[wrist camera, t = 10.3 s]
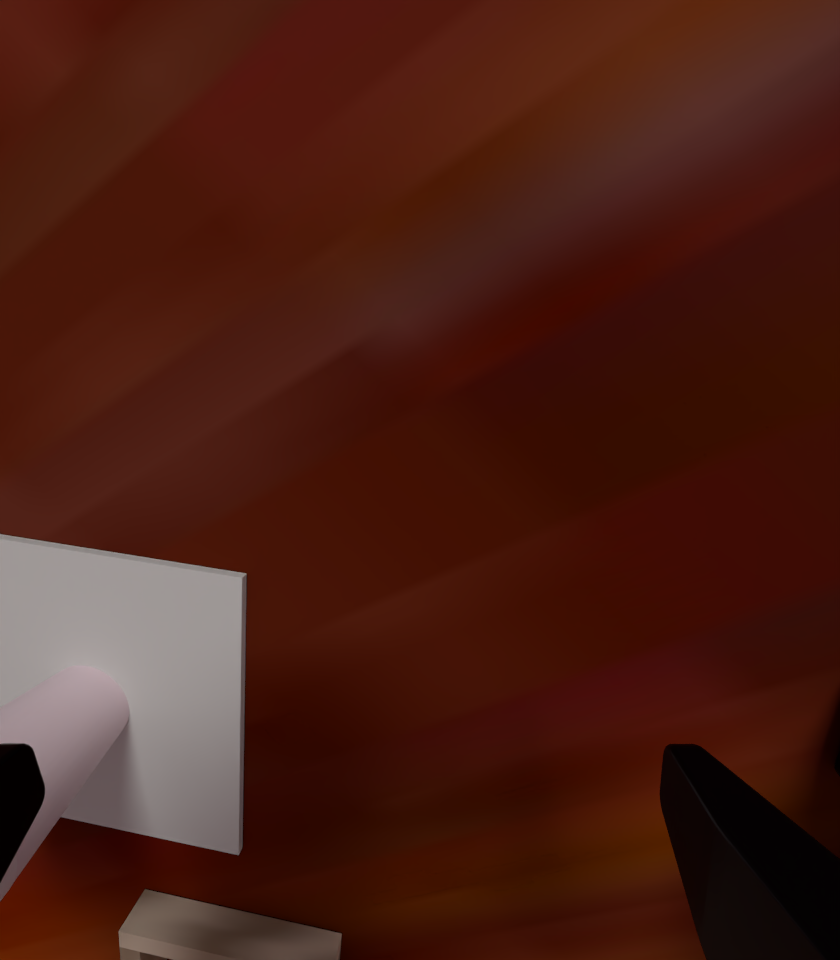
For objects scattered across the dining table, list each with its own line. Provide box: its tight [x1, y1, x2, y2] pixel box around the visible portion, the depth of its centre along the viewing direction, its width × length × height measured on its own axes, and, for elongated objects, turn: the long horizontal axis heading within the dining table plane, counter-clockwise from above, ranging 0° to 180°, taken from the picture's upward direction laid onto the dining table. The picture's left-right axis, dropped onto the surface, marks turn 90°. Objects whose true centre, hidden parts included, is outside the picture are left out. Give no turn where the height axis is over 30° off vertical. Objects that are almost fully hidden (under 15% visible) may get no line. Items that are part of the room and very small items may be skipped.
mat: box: [0, 534, 247, 855], centre depth 24 cm, size 14×14×1 cm
